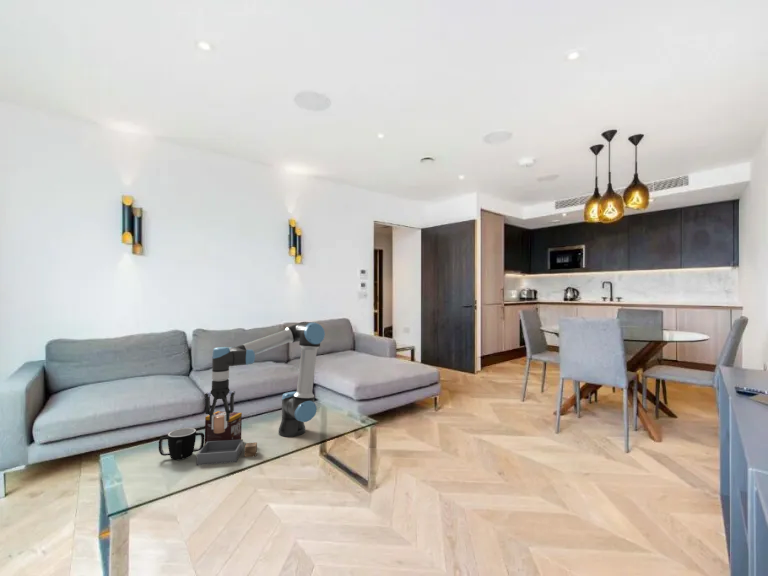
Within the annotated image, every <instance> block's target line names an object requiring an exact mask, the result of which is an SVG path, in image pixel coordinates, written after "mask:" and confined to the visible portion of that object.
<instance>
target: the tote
mask: <svg viewBox="0 0 768 576" xmlns="http://www.w3.org/2000/svg"><path fill="white" fill-rule="evenodd" d="M204 444H205V445H203V447H202V449H201V450H199V451H197V454H196V465H197V466H202V465H203V466H204V465H205V466H206V465H216V464H219V465H220V464H229V463H237V461H238V460H239V458H240V455H241V453H242V452H243V450H244V439H242V438H241V439H240V440H225V441H209V442H206V443H205V442H204Z"/></svg>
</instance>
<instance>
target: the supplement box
mask: <svg viewBox="0 0 768 576" xmlns="http://www.w3.org/2000/svg"><path fill="white" fill-rule="evenodd" d="M213 414H215V416H219V415H225V414H226V411H225V410H224V411H222V410H221V411H220V410H218V411H216V412H215V411H214V413H213ZM242 415H243V412H234V411H233V412H232V413H230V419H229V421H227V428H226V429H225V432H223V433H214V429H212V422H210V415H209V414H207V415H206V416H204V417H205V418H204V419H205V421H204V423H205V424H204V445H205V443H206V442H209V441H225V440H240V439H242V426H243V424H242V423H243V422H242V420H243V417H242ZM204 445H203V446H204Z"/></svg>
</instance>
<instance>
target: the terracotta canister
mask: <svg viewBox="0 0 768 576" xmlns="http://www.w3.org/2000/svg"><path fill="white" fill-rule="evenodd" d="M223 432H225V429H224V415H219V416H215V417H214V433H223Z"/></svg>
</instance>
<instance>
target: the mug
mask: <svg viewBox="0 0 768 576" xmlns="http://www.w3.org/2000/svg"><path fill="white" fill-rule="evenodd" d="M197 436H200V445H199V447H196V446H195V445H196V440H197ZM164 440H167V447H168V451H166V452H165V451H164V450H163V441H164ZM204 444H205V433H204V432H197V429H196V428H193V427H183V428H178V429H174V430H172V431H170V432H168V433H167V436H162V437H160V438H159V440H158V452H159V454H160V456H164V457H165V456H170V459H171V460H174V461H180V460H181V461H182V460H186V459H188V458H190V457H191V456H192V455H193V453H194V452H199V451H200V450H201V449H202V447H203V446H204Z"/></svg>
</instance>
